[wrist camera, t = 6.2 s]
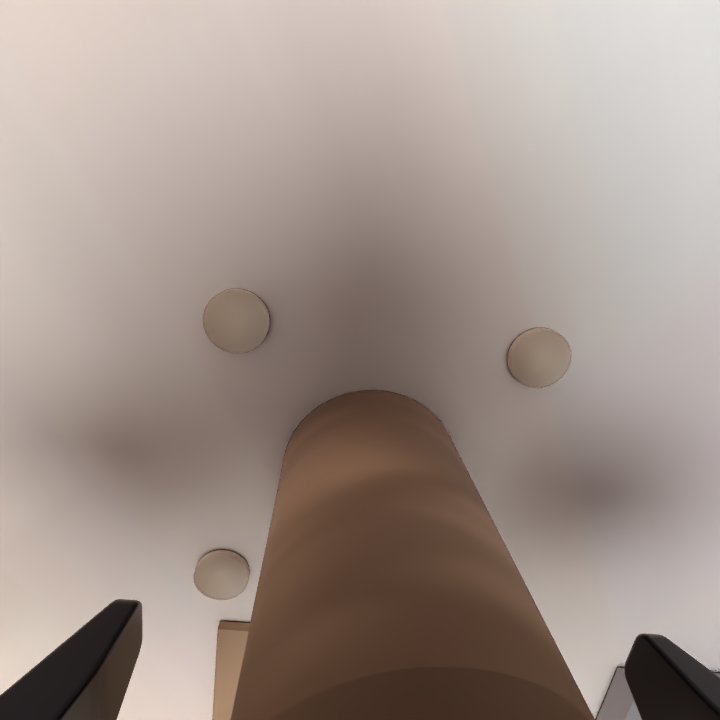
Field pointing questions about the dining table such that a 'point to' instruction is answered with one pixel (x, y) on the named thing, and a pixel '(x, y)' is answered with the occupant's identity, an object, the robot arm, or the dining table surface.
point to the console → (620, 700)
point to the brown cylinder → (392, 584)
